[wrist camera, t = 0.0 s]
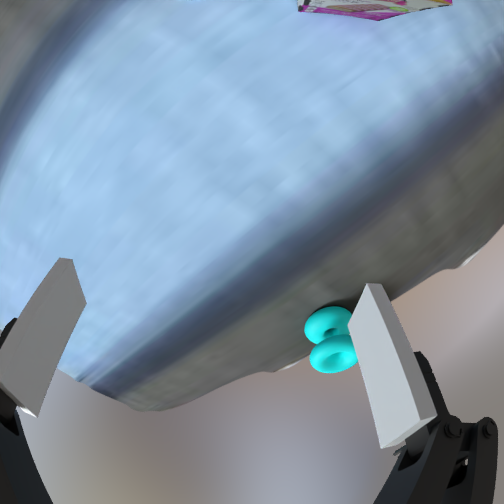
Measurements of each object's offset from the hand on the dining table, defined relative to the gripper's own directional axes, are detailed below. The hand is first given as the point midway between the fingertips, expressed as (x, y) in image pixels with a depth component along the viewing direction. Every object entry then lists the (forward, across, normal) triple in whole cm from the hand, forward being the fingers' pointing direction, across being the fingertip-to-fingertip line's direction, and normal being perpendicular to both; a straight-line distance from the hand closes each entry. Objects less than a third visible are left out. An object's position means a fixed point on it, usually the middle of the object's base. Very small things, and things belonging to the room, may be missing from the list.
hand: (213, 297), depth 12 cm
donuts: (+28, +21, -32) cm, 47 cm away
